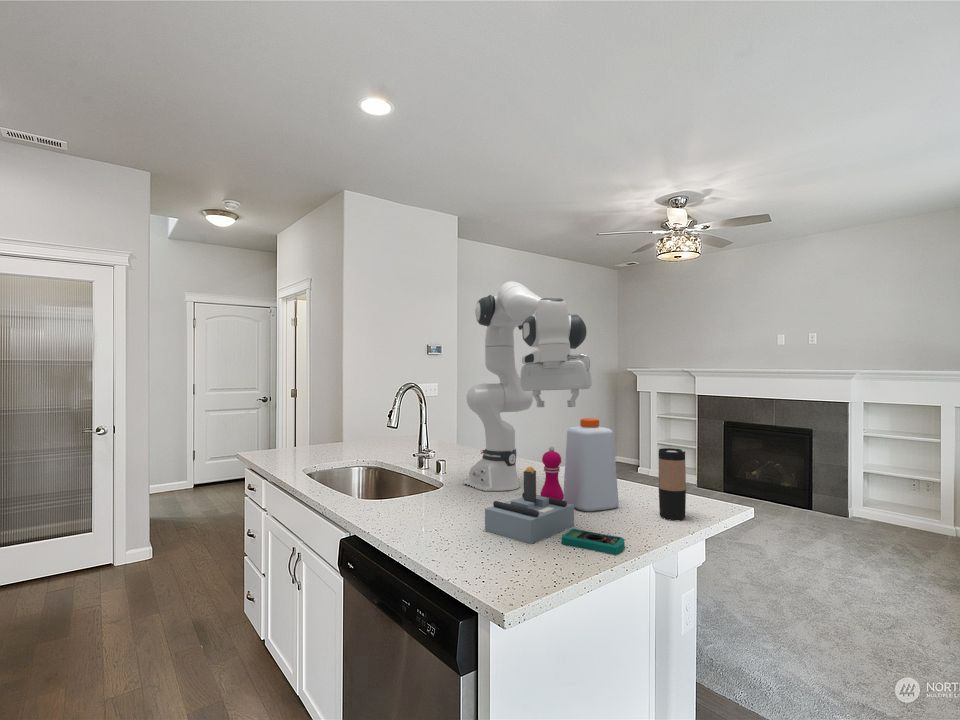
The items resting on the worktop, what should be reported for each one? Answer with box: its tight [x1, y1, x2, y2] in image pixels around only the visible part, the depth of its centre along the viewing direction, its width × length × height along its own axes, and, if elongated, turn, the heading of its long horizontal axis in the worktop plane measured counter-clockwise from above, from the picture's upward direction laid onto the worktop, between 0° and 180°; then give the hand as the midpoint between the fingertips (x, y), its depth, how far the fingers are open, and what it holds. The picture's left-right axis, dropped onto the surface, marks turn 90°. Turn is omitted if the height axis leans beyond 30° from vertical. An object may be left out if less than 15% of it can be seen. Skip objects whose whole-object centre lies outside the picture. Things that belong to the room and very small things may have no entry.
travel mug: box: [658, 447, 687, 521], centre depth 150 cm, size 8×8×20 cm
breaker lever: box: [523, 466, 537, 505], centre depth 140 cm, size 2×3×11 cm
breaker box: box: [484, 494, 575, 545], centre depth 140 cm, size 16×20×8 cm
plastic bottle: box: [563, 417, 619, 512], centre depth 164 cm, size 15×15×28 cm
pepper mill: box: [540, 445, 564, 501], centre depth 158 cm, size 7×7×20 cm
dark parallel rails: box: [492, 492, 567, 517], centre depth 140 cm, size 16×15×2 cm
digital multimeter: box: [561, 528, 626, 556], centre depth 127 cm, size 7×15×3 cm, turn 58°
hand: (555, 407), depth 135 cm, fingers open, 8 cm apart
